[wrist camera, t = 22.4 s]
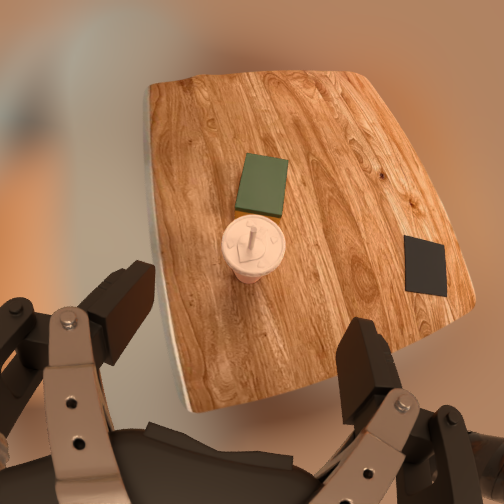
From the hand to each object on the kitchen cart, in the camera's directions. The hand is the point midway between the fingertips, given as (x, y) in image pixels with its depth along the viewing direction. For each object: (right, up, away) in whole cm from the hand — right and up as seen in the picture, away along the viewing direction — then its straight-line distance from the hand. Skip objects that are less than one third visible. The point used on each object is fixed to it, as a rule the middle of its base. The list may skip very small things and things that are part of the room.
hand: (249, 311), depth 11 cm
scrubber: (+1, +10, +30) cm, 32 cm away
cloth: (+28, 0, +28) cm, 40 cm away
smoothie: (0, 0, +26) cm, 26 cm away
